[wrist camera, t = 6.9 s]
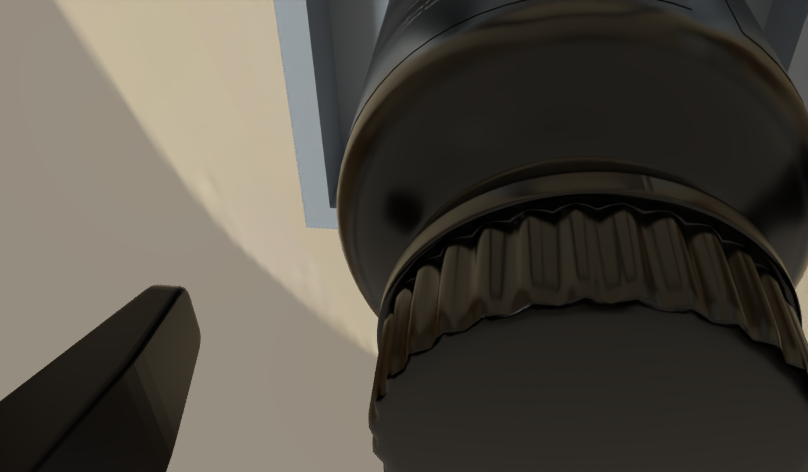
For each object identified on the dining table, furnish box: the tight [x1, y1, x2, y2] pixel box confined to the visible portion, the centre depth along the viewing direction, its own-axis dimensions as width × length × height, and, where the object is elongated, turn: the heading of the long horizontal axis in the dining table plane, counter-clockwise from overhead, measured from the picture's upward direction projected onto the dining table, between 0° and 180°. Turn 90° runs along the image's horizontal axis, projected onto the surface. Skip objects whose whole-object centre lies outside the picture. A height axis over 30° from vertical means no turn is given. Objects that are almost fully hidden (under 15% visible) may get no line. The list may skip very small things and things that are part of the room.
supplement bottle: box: [336, 0, 808, 472], centre depth 12 cm, size 7×7×12 cm
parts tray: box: [274, 0, 808, 229], centre depth 16 cm, size 11×11×3 cm
